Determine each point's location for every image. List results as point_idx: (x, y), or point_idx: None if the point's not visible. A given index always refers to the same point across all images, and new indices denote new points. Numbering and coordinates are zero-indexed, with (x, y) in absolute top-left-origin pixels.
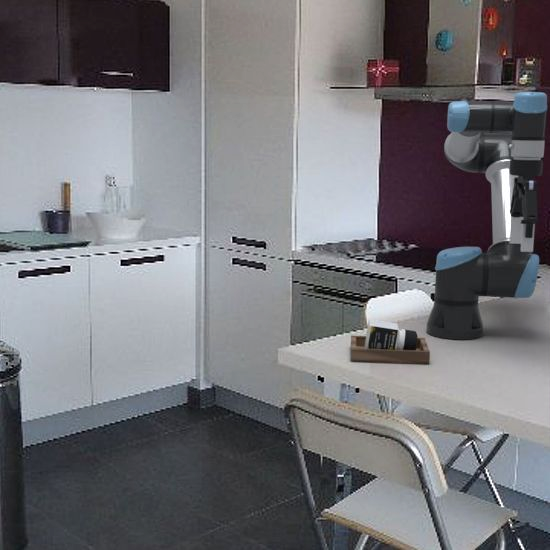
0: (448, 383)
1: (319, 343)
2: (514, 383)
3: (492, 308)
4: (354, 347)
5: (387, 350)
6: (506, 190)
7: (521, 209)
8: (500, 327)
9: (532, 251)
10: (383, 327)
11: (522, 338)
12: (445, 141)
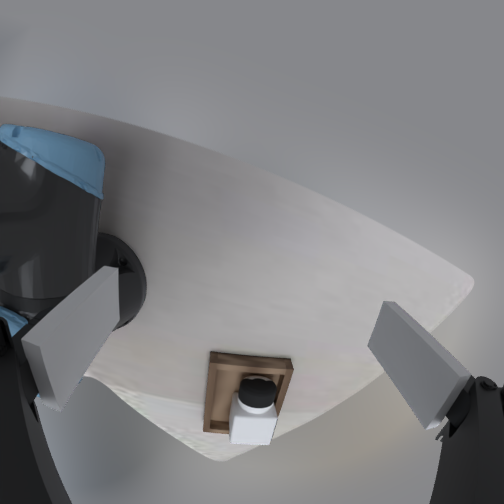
0: (368, 347)
1: (189, 439)
2: (385, 271)
3: None
4: None
5: (279, 409)
6: None
7: (27, 421)
8: None
9: (394, 304)
10: (272, 433)
11: (127, 166)
12: None
